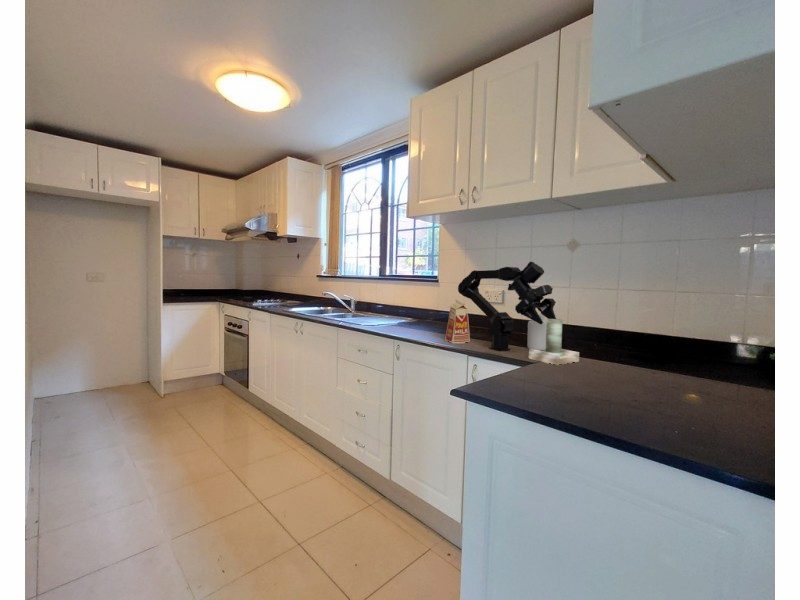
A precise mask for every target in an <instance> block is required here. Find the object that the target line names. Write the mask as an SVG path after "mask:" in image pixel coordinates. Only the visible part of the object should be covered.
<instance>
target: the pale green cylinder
mask: <svg viewBox="0 0 800 600" xmlns="http://www.w3.org/2000/svg"><path fill="white" fill-rule="evenodd" d="M546 322H547V329H546V350H542V351H544V352H549V353H554V354H558V355H560V357H562V356H564V352H562V351H561V349H562V340H563V319H559V318H556V319H548V318H547V319H546Z"/></svg>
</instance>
